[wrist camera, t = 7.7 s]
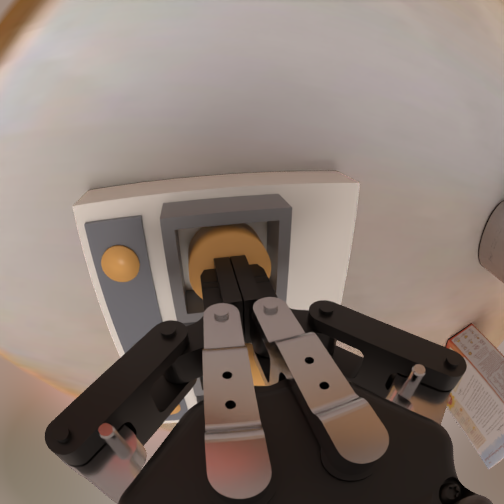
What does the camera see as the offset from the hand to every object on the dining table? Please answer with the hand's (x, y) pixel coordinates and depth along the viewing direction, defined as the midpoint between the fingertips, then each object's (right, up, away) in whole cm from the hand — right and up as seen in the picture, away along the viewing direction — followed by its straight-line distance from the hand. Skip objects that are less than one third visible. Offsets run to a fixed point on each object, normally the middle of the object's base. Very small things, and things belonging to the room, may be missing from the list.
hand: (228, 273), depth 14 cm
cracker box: (+33, -16, +23) cm, 43 cm away
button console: (-1, -4, +8) cm, 9 cm away
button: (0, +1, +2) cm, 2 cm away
